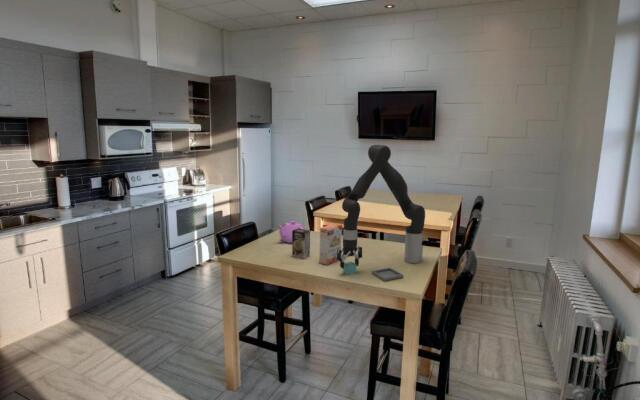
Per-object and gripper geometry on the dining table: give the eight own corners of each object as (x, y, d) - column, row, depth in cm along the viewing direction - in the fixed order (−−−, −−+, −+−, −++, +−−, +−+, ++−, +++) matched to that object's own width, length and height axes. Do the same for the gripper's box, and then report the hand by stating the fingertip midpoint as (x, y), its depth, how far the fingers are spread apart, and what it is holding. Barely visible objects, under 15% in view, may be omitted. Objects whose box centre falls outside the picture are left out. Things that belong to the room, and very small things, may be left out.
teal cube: (351, 270, 209) (351, 261, 208) (356, 273, 205) (356, 264, 204) (343, 271, 207) (343, 262, 206) (347, 274, 203) (348, 265, 202)
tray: (389, 270, 209) (389, 267, 208) (403, 278, 198) (403, 274, 198) (371, 274, 204) (371, 270, 203) (384, 281, 193) (384, 278, 193)
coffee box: (291, 256, 231) (291, 230, 228) (298, 253, 236) (297, 228, 233) (304, 259, 226) (304, 232, 223) (310, 256, 232) (310, 230, 229)
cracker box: (327, 265, 216) (327, 229, 212) (319, 263, 220) (319, 227, 216) (341, 259, 227) (342, 224, 223) (333, 257, 231) (333, 222, 227)
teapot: (268, 241, 263) (267, 221, 260) (293, 235, 277) (292, 216, 275) (288, 248, 247) (287, 227, 245) (313, 241, 262) (313, 221, 259)
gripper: (358, 234, 209) (357, 263, 212) (334, 237, 203) (334, 266, 206) (365, 237, 202) (364, 267, 205) (341, 240, 196) (341, 271, 199)
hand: (349, 267), depth 205 cm, fingers open, 8 cm apart
